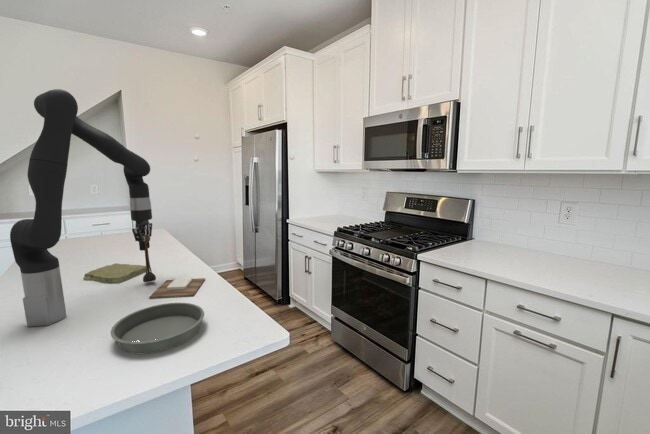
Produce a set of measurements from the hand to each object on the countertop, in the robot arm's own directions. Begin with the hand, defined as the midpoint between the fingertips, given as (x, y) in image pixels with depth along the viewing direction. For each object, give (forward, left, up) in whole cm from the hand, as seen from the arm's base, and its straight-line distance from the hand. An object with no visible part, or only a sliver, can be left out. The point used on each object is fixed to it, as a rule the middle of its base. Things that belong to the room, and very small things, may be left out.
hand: (144, 248), depth 133 cm
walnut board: (-8, -15, -15) cm, 23 cm away
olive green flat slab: (+13, +19, -16) cm, 28 cm away
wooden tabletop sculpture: (0, 0, -14) cm, 14 cm away
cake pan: (-44, -21, -16) cm, 51 cm away
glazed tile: (-6, -15, -14) cm, 21 cm away
